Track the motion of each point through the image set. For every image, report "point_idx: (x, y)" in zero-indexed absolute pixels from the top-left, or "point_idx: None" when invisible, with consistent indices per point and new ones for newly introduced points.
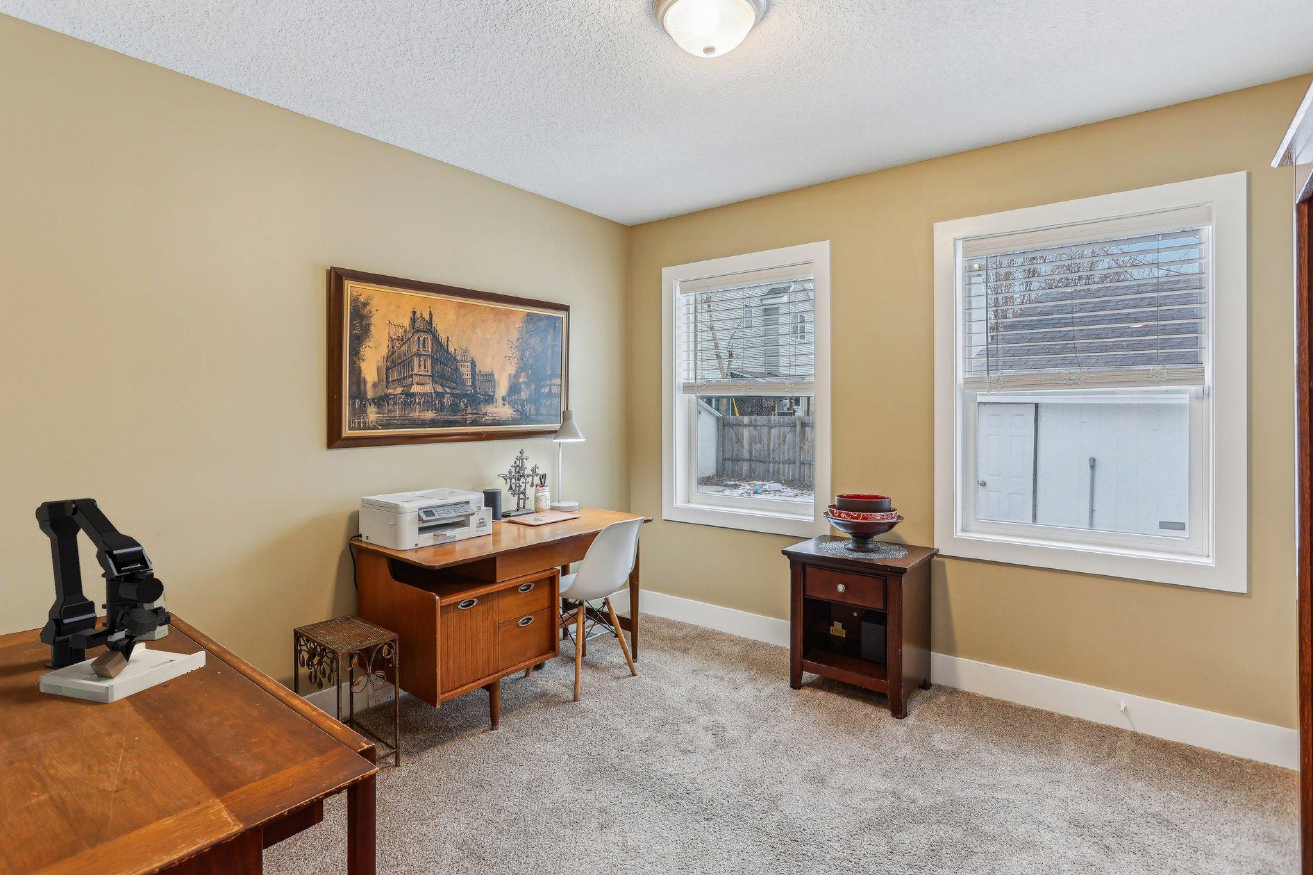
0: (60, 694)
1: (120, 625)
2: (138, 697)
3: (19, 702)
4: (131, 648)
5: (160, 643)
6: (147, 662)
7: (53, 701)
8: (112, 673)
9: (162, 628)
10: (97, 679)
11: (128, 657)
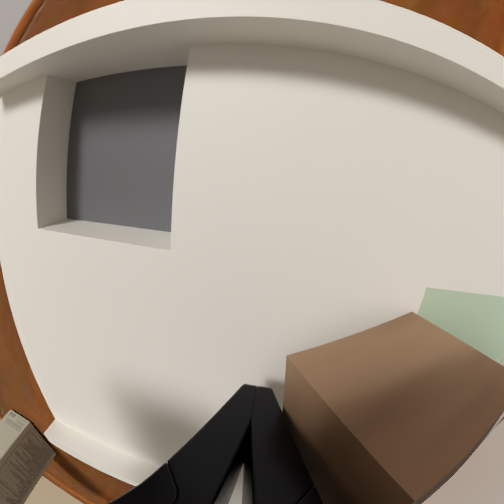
0: None
1: None
2: (465, 34)
3: None
4: (178, 488)
5: (26, 405)
6: (108, 328)
7: None
8: (439, 333)
9: (7, 426)
10: None
11: (228, 423)
